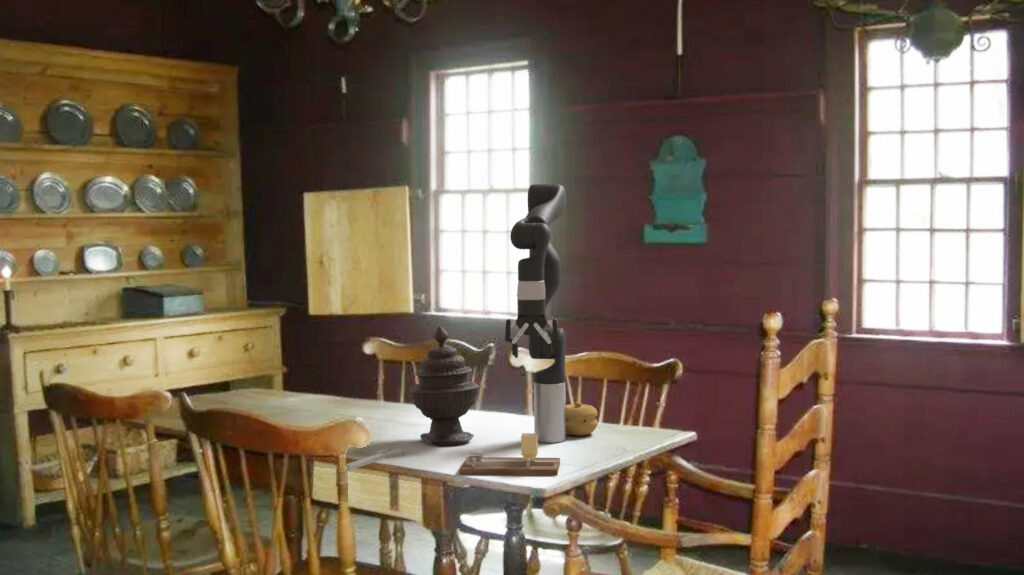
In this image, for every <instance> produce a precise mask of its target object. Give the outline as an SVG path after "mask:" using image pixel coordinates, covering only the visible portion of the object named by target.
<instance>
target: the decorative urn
mask: <svg viewBox="0 0 1024 575" xmlns="http://www.w3.org/2000/svg"><path fill="white" fill-rule="evenodd" d="M433 338H434V340H435V341H436V342H437V343H438V345H437V346H434V347H432V348H429V349H428V350H427V356H426V357H425V358H423V359H422V361H421V365H420V367H421V368H420V369H418V370H417V371H415V372H414V374H415V376H417V377H418V378H419V379H418V380H419V381H418V382H419V383H416V384H413V385H411V387H409V389H408V390H409V392H410V393H409V394H410V396H411V398H412V400H413V404H414V406H415V407H416V409H418V410H420V412H421V414H422V415H423V416H425V417H426V418H427V419H428V418H429V419H430V420H431V423H430V427H429V428H430V429H429V432H424V433H420V436H419V437H420V439H421V441H423V442H424V443H425V444H428V445H430V446H443V445H444V446H446V445H447V446H450V445H459V444H465V443H468V442H469V441H470V440H472V439H473V438H474V436H475V435H474V433H471V432H469V431H464V430H463V427H462V425H461V421H460V419H459V418H461V417H463V416H465V415H466V414H467V413H468V412H469V410H470V409H471V408H472V406H473V405H474V404H475V402H476V398H477V395H478V391H479V384H477V383H476V382H473V381H469V376H468V374H469V373H471V372H472V371H473V369H472V368H470V367H469V366H466V364H465V363H466V359H465V358H464V357H463V356H462V355H459V354H458V349H457V348H456V347H453V346H452V345H450V344H446V341H447V340H449V333H448V332H447V331H446V330H445V329H444V328H443V327H442V326H441V325H440V324H439V325H438V327H437V329H436V330H435V333H434V335H433Z"/></svg>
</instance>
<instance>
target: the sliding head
mask: <svg viewBox="0 0 1024 575" xmlns="http://www.w3.org/2000/svg"><path fill="white" fill-rule="evenodd" d="M520 445H521V446H520V448H521V449H520V450H521V453H520V454H521V456H522V458H523V461H526V459H527V458H529V459H530V461H535V458H537V456H538V453H539V442H538V433H535V432H534V433H533V432H532V433H530V432H529V433H528V432H527V433H521V436H520Z"/></svg>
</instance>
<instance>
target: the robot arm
mask: <svg viewBox="0 0 1024 575" xmlns="http://www.w3.org/2000/svg"><path fill="white" fill-rule="evenodd" d="M527 191H528V192H527V214H526V216H525V217H524V218H522V219H520V220H518V221H517V222H516V223H515V224H514V225H513V226H512V228H511V231H510V242H511V245H512V246H513V247H514V248H515V249H519V250H529V257H525V258H522V259H519V261H518V264H517V280H518V281H517V290H516V292H517V294H516V297H517V302H516V303H517V318H516V319H510V318H507V319H506V321H505V330H504V331H505V332H504V337H505V338H504V341H505V342H507V343H510V344H511V349H512V350H511V351H512V352H511V355H512V356H513V357H514V358H515V359H518V358H519V343H518V341H519V339H520V338H521V337H522V336H523V335H524V336H528V353H529V356H530V358H531V359H533V360H554V362H553V363H552V364H551V365H550V366H548V367H546V368H543V369H541V370H537V371H536V372H534V373H533V374H534V375H533V394H534V395H533V398H534V400H533V402H534V404H533V405H534V406H533V408H534V415H533V417H534V418H533V419H534V421H533V422H534V433H538V443H547V444H548V443H549V444H550V443H561V442H565V441H566V439H567V434H566V405H567V404H566V350H567V348H566V346H567V339H566V338H567V337H566V336H567V335H566V332H565V330H564V328H563V327H559V323H558V319H557V318H553V319H547V316H546V315H547V314H546V313H547V312H546V308H547V306H548V305H549V303H550V302H551V300H552V298H553V297H554V295H555V294H556V293H557V290H558V289H559V287H560V285H561V281H562V280H561V279H562V278H561V275H562V274H561V273H562V272H561V271H562V270H561V266H562V265H561V263H562V262H561V259H560V256H559V255H558V252H557V251H556V249H555V248H554V246H553V244H552V243H551V241H550V240H551V234H552V233H551V230H550V226H551V225H552V224H553V222H555V221H556V220H557V219H558V218H559V217H560V216H562V214H564V213H565V210H566V207H567V193H566V189H565V187H564V186H563V185H561V184H558V183H539V184H536V183H535V184H530V186H529V188H528V190H527ZM515 325H516V326H517V328H518V329H519V331H518V332H517V333H516V335H515V336H514V337H511V333H512V332H511V331H512V329H511V328H513V327H514V326H515ZM547 325H549V327H546V326H547Z"/></svg>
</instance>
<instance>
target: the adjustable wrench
mask: <svg viewBox="0 0 1024 575" xmlns="http://www.w3.org/2000/svg"><path fill="white" fill-rule="evenodd" d="M401 455H402V456H403V455H404V449H403V448H399V449H397V450H390V448H384V449H383V448H382V449H380V450H376V452H375V454H373V455H370V456H367V457H364V458H362V459H358V460H355V461H352V462H349V463H348V462H347V463H346V464H347V471H346V472H349V471H352V470H355V469H359V468H361V467H364V466H367V465H369V464H373V463H375V462H378V460H379V461H381V460H384V459H383V458H385V459H390V457H391V458H397V456H398V457H402V456H401ZM380 459H381V460H380Z"/></svg>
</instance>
